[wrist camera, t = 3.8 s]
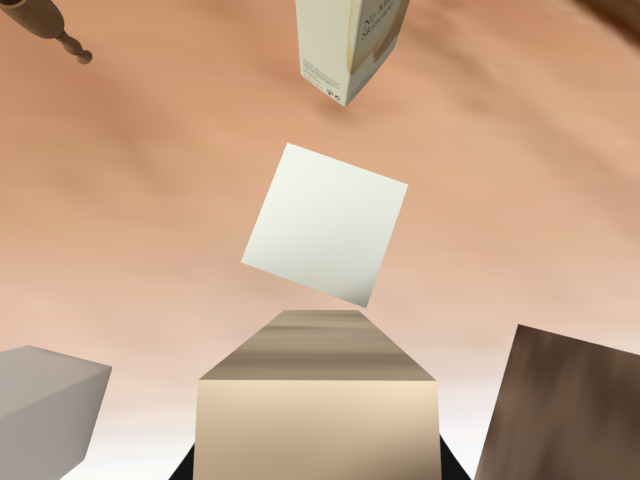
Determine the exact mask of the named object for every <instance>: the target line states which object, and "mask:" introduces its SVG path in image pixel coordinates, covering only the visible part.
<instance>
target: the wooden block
mask: <svg viewBox="0 0 640 480" xmlns="http://www.w3.org/2000/svg"><path fill="white" fill-rule="evenodd" d="M193 480H442V477H441V456H440V434H439V412H438V391H437V380H435V379H434V378H433V377H432V376H431V375H430V374H429V373H428V372H427V371H425V370H424V369H423V368H422V367H421V366H420V365H419V364H418V363H417V362H415V361H414V360H413V359H412V358H411V357H410V356H409V355H408V354H407V353H405V352H404V351H403V350H402V349H401V348H400V347H399V346H398V345H397V344H395V343H394V342H393V341H392V340H391V339H390V338H389V337H388V336H387V335H385V334H384V333H383V332H382V331H381V330H380V329H379V328H378V327H377V326H375V325H374V324H373V323H372V322H371V321H370V320H369V319H368V318H366V317H365V316H364V315H363V314H362V313H361V312H360V311H359V310H284V311H283V312H281V313H280V314H279V315H278V316H276V317H275V318H274V319H273V320H271V321H270V322H269V323H268V324H266V325H265V326H264V327H263V328H262V329H260V330H259V331H258V332H257V333H255V334H254V335H253V336H252V337H250V338H249V339H248V340H247V341H245V342H244V343H243V344H242V345H240V346H239V347H238V348H237V349H236V350H234V351H233V352H232V353H231V354H229V355H228V356H227V357H226V358H224V359H223V360H222V361H221V362H219V363H218V364H217V365H216V366H214V367H213V368H212V369H211V370H210V371H208V372H207V373H206V374H205V375H203V376H202V377H201V378H200V379H198V390H197V410H196V430H195V450H194V469H193Z"/></svg>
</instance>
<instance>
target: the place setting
mask: <svg viewBox="0 0 640 480" xmlns="http://www.w3.org/2000/svg"><path fill="white" fill-rule="evenodd" d="M0 9H1V10H2V11H3V12H5V13H6V14H7V15H8V16H9V17H11V18H12V19H13V20H14V21H16V22H17V23H18V24H19V25H21V26H22V27H23V28H25V29H26V30H28V31H29V32H31V33H32V34H34V35H36V36H38V37H41V38H45V39H53V38H55V39H56V40H58V41H60V42H61V43H62V45H63V47H64V49H65V50H66V51H67V52H68V53H70V54H72V55H75V56H77V61H78V62H79V63H80V64H83V65H84V64H88V63H90V62H91V60H92V53H91V52H90V51H88V50H83V48H82V46H81V44H80V43H79V41H78V40H76V39H75V38H73V37H70V36H69V35H68V34H67V33H66V32H65V30H64V26H65V23H64V18H63V16H62V14H61V12H60V11H59V9H58V8H57V7H56V5H55V4H54V3H53V2H52V1H51V0H0Z"/></svg>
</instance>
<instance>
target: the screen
mask: <svg viewBox="0 0 640 480" xmlns="http://www.w3.org/2000/svg"><path fill="white" fill-rule="evenodd" d="M474 480H640V355H638V354H634V353H630V352H626V351H622V350H618V349H614V348H611V347H607V346H603V345H599V344H595V343H591V342H587V341H583V340H579V339H575V338H572V337H568V336H564V335H560V334H556V333H552V332H548V331H544V330H540V329H536V328H533V327H529V326H525V325H521V324H518V326H517V329H516V333H515V336H514V340H513V343H512V347H511V350H510V354H509V358H508V361H507V365H506V368H505V372H504V375H503V379H502V382H501V386H500V389H499V393H498V396H497V400H496V403H495V407H494V410H493V414H492V417H491V421H490V424H489V428H488V431H487V435H486V438H485V442H484V445H483V449H482V453H481V456H480V460H479V463H478V467H477V470H476V474H475V477H474Z"/></svg>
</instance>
